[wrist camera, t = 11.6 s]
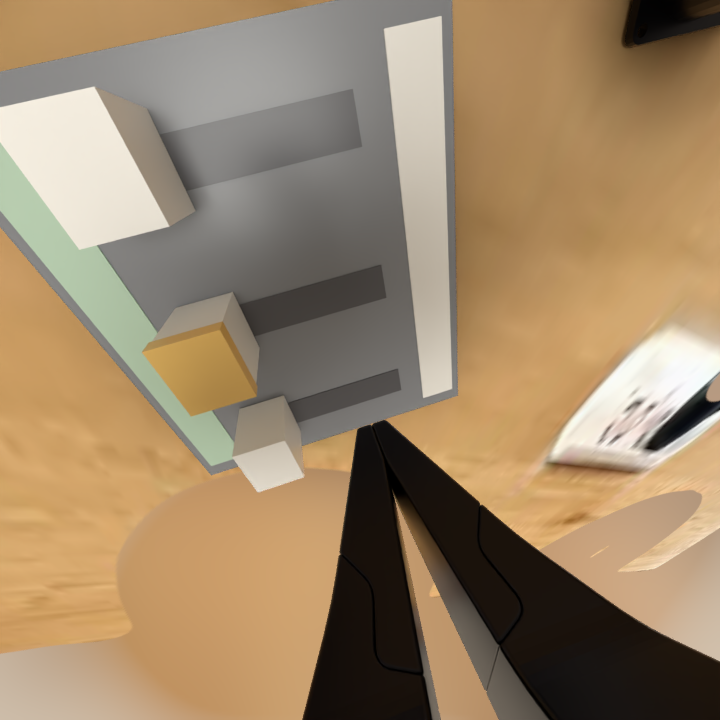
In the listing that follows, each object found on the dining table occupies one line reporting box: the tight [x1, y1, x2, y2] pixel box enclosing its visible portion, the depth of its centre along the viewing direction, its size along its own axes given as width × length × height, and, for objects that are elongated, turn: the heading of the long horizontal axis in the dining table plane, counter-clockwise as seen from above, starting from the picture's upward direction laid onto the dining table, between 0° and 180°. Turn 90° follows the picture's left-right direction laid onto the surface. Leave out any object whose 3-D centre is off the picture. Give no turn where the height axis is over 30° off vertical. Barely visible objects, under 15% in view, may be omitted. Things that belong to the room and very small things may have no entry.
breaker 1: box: [0, 87, 195, 250], centre depth 11 cm, size 3×4×4 cm
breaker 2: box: [232, 395, 305, 492], centre depth 19 cm, size 3×4×4 cm
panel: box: [0, 0, 458, 475], centre depth 18 cm, size 20×22×2 cm
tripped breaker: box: [142, 292, 260, 417], centre depth 15 cm, size 3×4×4 cm
